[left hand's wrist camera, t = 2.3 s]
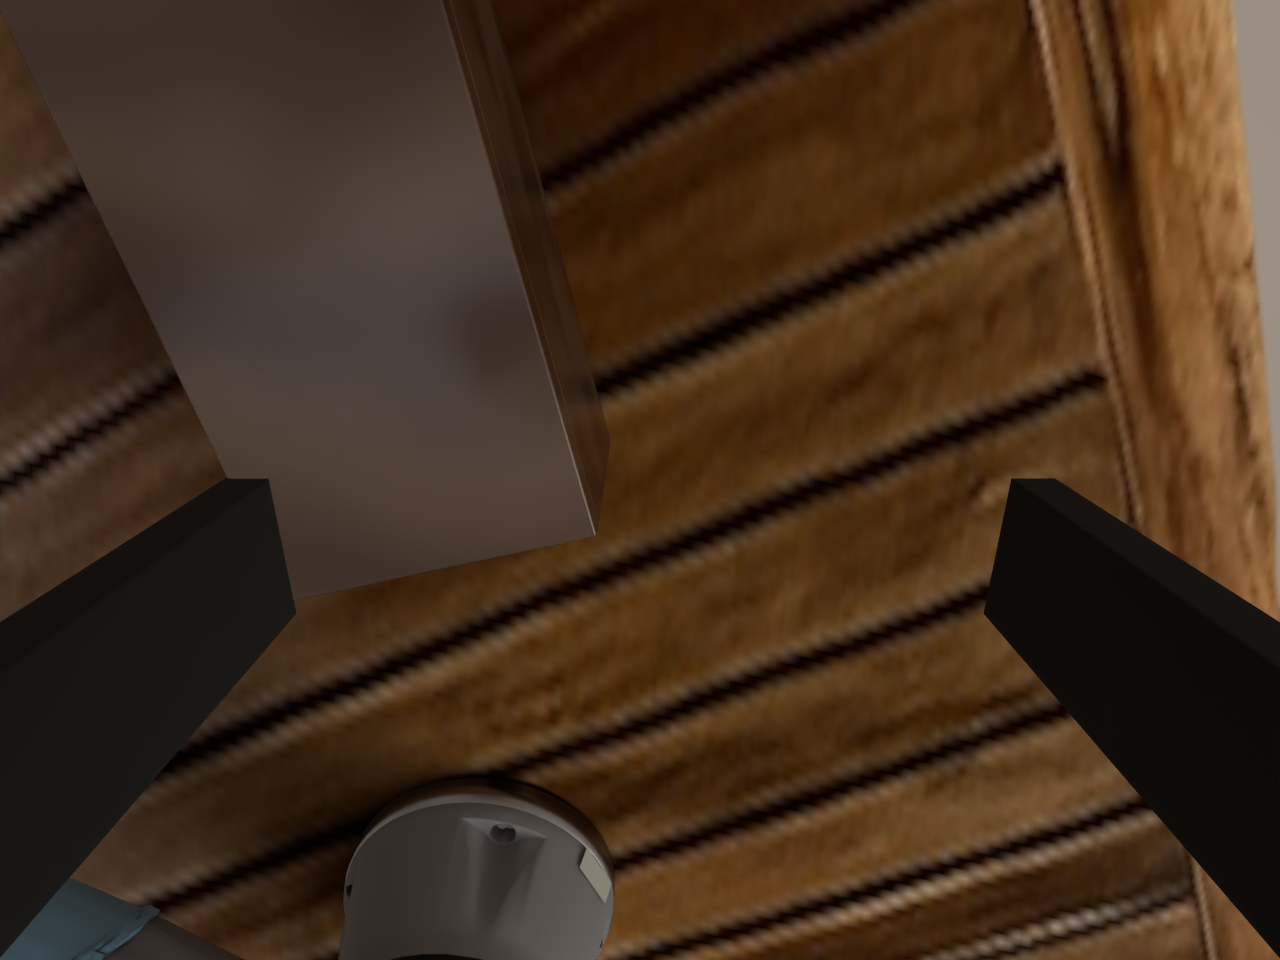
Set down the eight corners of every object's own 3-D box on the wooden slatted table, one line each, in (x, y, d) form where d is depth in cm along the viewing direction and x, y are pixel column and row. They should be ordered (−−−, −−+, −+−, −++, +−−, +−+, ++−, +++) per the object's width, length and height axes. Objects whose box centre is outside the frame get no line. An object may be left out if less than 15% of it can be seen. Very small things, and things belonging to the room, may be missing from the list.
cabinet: (220, 70, 26) (-10, -6, 17) (491, -8, 25) (404, -134, 16) (387, 492, 32) (286, 603, 23) (610, 441, 31) (597, 536, 22)
